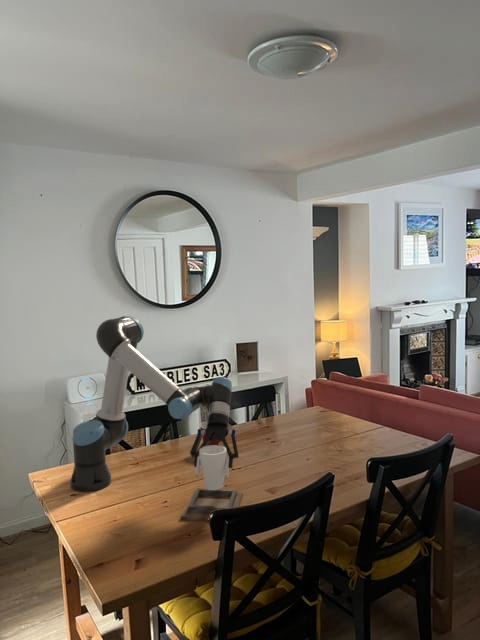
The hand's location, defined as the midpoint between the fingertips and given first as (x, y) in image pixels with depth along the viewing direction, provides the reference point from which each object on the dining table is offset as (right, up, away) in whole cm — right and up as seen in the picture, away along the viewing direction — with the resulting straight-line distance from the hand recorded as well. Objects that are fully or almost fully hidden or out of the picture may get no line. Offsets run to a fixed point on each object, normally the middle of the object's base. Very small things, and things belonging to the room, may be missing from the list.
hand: (211, 476), depth 178 cm
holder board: (0, -12, +5) cm, 13 cm away
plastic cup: (-3, -6, +60) cm, 61 cm away
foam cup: (+1, -5, +4) cm, 6 cm away
